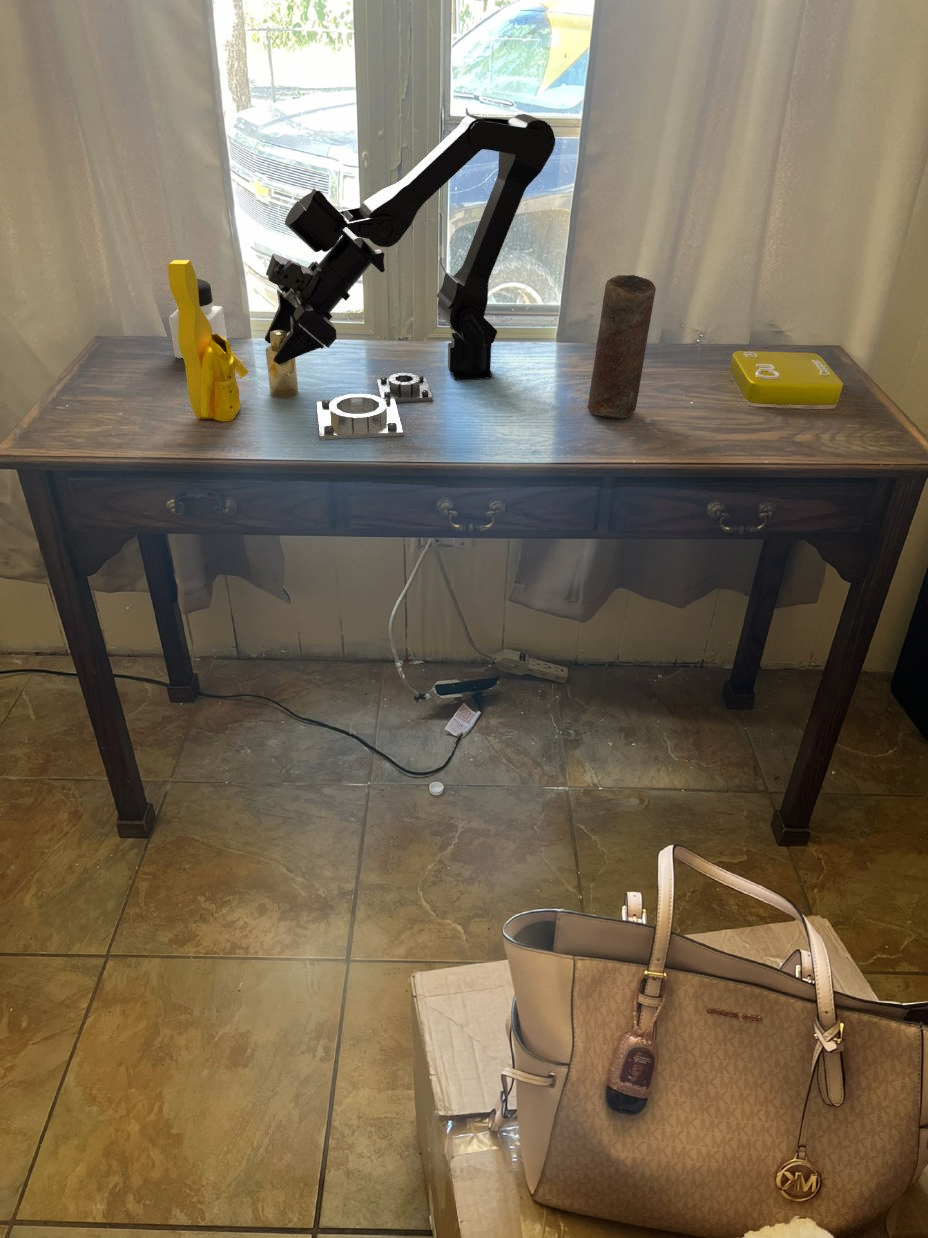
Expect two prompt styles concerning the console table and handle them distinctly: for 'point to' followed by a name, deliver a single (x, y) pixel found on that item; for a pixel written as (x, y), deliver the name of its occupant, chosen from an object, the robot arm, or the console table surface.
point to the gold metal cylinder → (280, 369)
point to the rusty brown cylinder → (621, 346)
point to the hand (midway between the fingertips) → (271, 351)
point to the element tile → (785, 378)
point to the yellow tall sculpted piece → (204, 351)
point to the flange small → (404, 388)
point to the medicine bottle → (210, 312)
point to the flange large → (358, 417)
